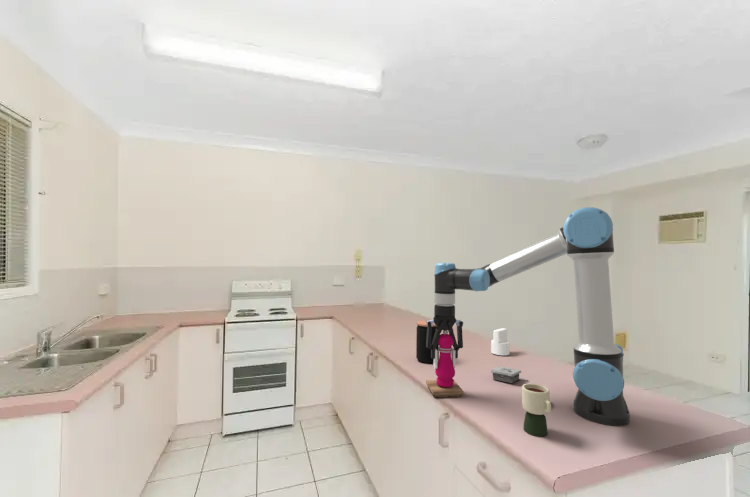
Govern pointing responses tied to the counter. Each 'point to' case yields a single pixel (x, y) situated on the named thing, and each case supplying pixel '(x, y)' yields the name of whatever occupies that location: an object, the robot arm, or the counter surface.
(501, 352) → the cylinder with rectangular tab
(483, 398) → the counter surface
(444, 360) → the pepper mill
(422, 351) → the coffee jar
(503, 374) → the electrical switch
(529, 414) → the character mug
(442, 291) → the robot arm
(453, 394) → the walnut stand
